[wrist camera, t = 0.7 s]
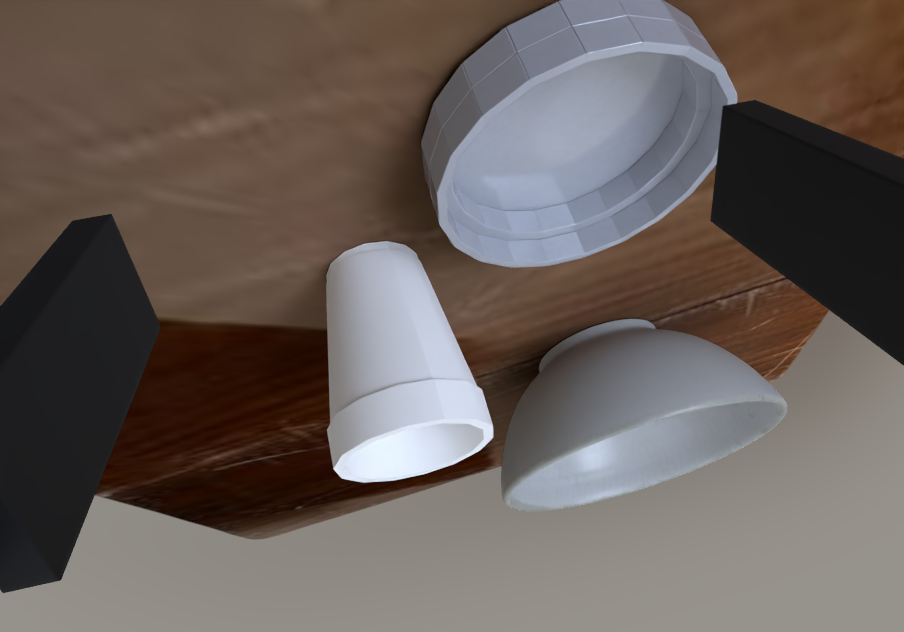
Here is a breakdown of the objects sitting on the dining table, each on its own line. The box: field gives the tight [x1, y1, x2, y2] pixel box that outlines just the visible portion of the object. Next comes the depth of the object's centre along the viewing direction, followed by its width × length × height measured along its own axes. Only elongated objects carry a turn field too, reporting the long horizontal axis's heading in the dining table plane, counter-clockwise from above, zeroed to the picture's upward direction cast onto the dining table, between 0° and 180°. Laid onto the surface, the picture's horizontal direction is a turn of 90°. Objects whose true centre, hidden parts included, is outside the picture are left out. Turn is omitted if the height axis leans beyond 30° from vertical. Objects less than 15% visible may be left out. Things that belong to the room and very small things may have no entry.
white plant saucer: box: [421, 0, 737, 268], centre depth 35 cm, size 16×16×4 cm
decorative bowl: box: [501, 319, 787, 511], centre depth 62 cm, size 27×27×12 cm
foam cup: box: [326, 241, 493, 482], centre depth 40 cm, size 10×9×13 cm
